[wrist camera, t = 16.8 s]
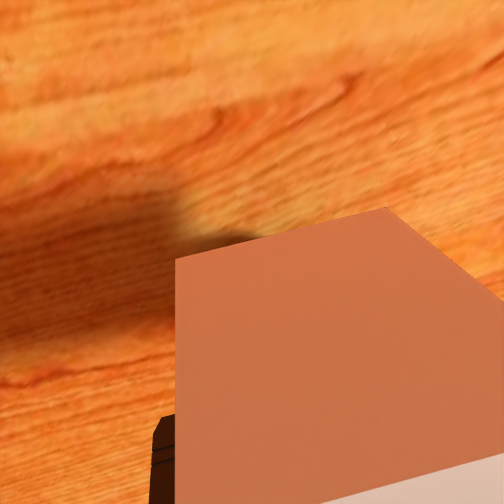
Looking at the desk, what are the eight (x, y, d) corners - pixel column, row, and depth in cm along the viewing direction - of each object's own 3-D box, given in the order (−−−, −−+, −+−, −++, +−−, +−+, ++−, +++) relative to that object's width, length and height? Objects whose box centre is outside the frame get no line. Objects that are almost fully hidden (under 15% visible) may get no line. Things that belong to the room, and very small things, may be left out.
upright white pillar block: (398, 372, 17) (588, 656, 9) (224, 418, 17) (266, 753, 9) (385, 207, 14) (644, 414, 6) (175, 259, 14) (174, 544, 6)
